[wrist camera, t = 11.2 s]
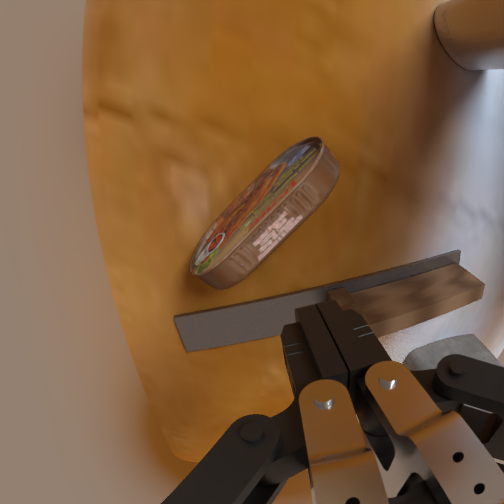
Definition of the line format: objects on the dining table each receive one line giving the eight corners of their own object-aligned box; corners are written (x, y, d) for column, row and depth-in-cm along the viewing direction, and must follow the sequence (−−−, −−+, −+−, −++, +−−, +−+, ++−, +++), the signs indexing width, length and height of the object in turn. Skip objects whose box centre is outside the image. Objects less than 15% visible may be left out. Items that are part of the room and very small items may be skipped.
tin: (302, 132, 26) (334, 135, 19) (324, 156, 27) (362, 169, 20) (190, 245, 30) (181, 288, 22) (214, 265, 31) (213, 312, 23)
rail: (458, 249, 33) (460, 250, 33) (454, 282, 35) (456, 284, 35) (174, 315, 32) (173, 318, 32) (187, 349, 34) (187, 351, 34)
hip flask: (402, 365, 40) (464, 465, 22) (410, 345, 39) (481, 447, 20) (470, 347, 42) (531, 421, 23) (479, 328, 40) (546, 402, 22)
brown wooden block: (457, 255, 33) (486, 276, 27) (453, 282, 34) (480, 305, 29) (327, 291, 32) (346, 323, 27) (329, 320, 34) (346, 353, 28)
